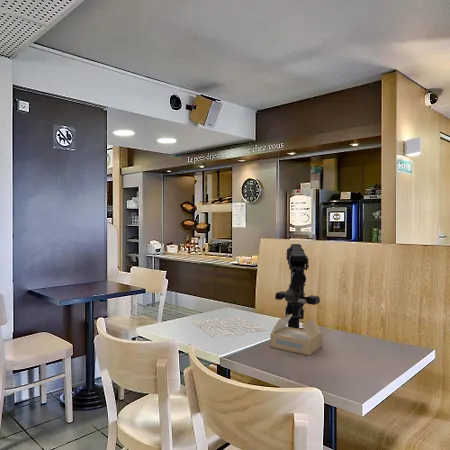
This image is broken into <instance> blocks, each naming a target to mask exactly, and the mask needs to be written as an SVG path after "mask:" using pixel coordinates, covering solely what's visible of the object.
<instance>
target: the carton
mask: <svg viewBox="0 0 450 450" xmlns="http://www.w3.org/2000/svg"><path fill="white" fill-rule="evenodd" d="M269 337H270V338H269V339H270V341H269V342H270V345H269V347H270V348H273V349H277V350H282V351H286V352H290V353H295V354H299V355H303V356H308V357H309V356H311V355H313V354H314V353H316V352H317V351H318V350H320V349H321V348H323V333H322V332H321V333H319V334H318V335H316V336H315V337H313V338H311V339H310V340H309V339H308V337H307V335H306V332H305V330H304V329H303V328H302V329H297V328H291V327H288V326H287V325H286V326H285V327H283V328H281V329H279V330H277V331H275V332H272V331H271V333H270V336H269Z"/></svg>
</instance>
